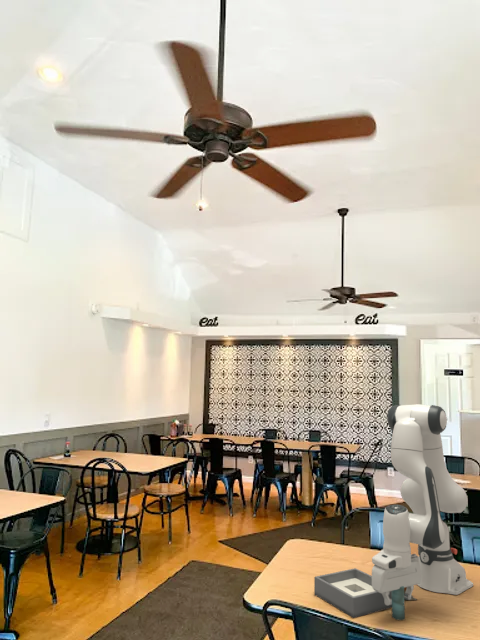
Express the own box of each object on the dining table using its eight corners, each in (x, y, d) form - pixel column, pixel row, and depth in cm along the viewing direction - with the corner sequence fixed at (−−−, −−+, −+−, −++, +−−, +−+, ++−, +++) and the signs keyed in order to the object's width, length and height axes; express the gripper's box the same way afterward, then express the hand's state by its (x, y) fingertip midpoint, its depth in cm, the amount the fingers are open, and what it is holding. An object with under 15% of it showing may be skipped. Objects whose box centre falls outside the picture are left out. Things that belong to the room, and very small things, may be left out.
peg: (397, 613, 156) (397, 581, 158) (407, 618, 153) (406, 585, 154) (389, 615, 154) (388, 583, 156) (398, 621, 151) (398, 587, 152)
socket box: (355, 585, 179) (355, 568, 180) (396, 606, 162) (396, 587, 163) (314, 594, 169) (314, 576, 170) (353, 618, 152) (353, 598, 153)
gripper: (410, 550, 164) (411, 592, 162) (368, 558, 154) (368, 604, 152) (425, 555, 159) (427, 599, 157) (382, 564, 149) (383, 612, 147)
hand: (398, 602), depth 154 cm, fingers open, 8 cm apart
